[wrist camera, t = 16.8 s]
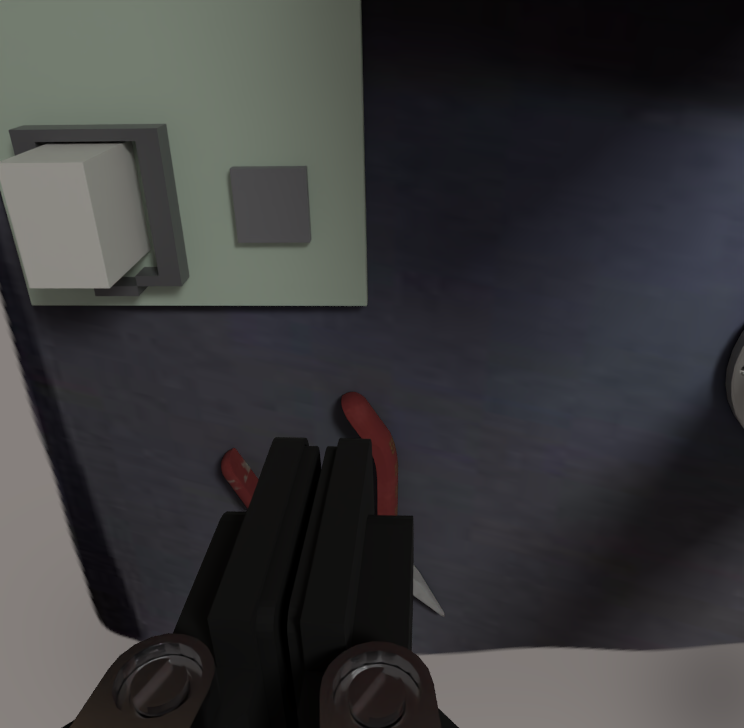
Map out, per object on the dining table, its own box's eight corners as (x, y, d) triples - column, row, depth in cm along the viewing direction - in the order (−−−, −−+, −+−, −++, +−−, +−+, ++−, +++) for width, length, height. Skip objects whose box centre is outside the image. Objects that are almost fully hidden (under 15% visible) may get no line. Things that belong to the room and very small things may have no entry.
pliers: (363, 630, 54) (362, 658, 52) (217, 448, 46) (208, 471, 44) (494, 582, 51) (498, 609, 49) (361, 379, 43) (359, 400, 41)
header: (166, 123, 35) (156, 128, 33) (191, 286, 39) (183, 296, 38) (23, 125, 35) (8, 129, 34) (63, 286, 39) (51, 296, 38)
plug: (131, 139, 35) (82, 162, 30) (153, 262, 38) (112, 303, 33) (56, 139, 35) (-5, 163, 30) (85, 262, 39) (33, 303, 33)
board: (357, -164, 30) (355, -173, 28) (367, 299, 40) (366, 309, 39) (-81, -150, 31) (-104, -157, 29) (40, 298, 41) (26, 309, 40)
